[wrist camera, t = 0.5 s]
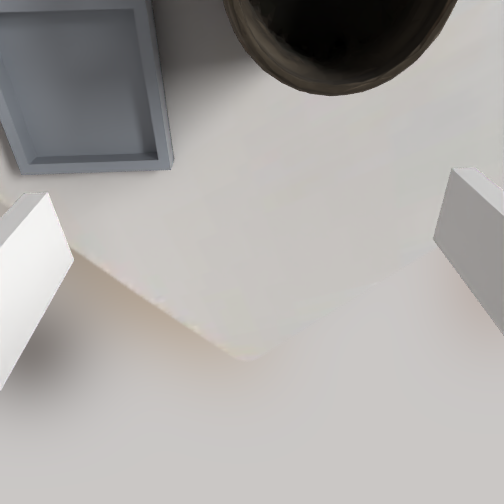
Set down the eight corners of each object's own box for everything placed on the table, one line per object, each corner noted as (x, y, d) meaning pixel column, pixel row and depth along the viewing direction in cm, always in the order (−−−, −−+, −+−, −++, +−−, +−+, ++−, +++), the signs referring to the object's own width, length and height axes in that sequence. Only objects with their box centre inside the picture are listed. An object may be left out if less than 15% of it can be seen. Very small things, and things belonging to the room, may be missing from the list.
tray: (-29, -4, 31) (-48, -3, 29) (150, -9, 31) (143, -8, 29) (32, 164, 39) (21, 174, 37) (174, 159, 39) (170, 169, 37)
